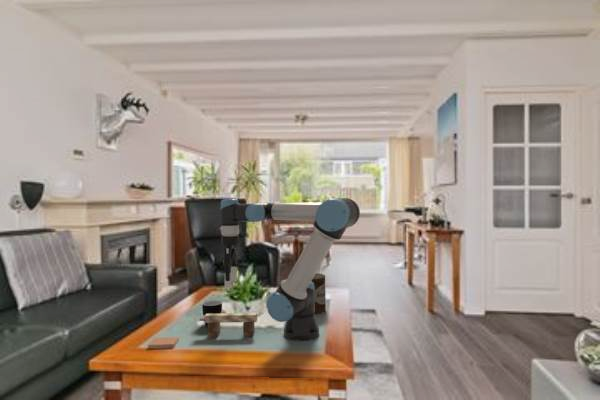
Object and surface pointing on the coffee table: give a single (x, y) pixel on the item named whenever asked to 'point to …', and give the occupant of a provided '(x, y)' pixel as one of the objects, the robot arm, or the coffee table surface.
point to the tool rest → (215, 330)
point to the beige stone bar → (229, 317)
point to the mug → (211, 308)
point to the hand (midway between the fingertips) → (231, 284)
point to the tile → (163, 342)
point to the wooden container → (319, 293)
